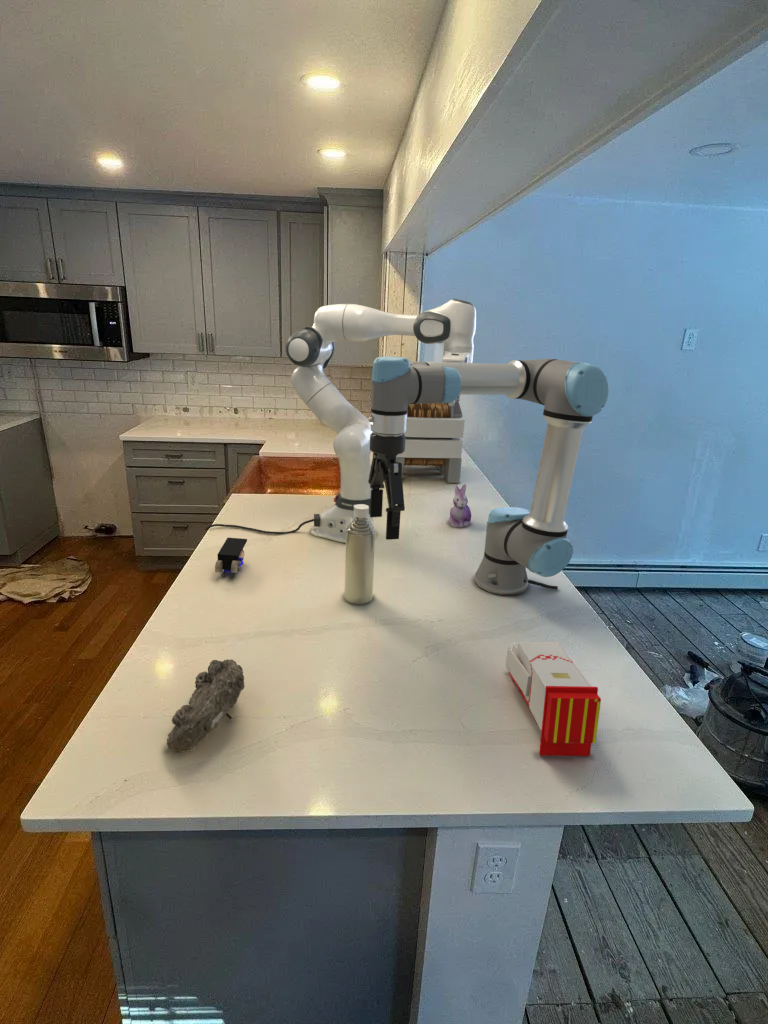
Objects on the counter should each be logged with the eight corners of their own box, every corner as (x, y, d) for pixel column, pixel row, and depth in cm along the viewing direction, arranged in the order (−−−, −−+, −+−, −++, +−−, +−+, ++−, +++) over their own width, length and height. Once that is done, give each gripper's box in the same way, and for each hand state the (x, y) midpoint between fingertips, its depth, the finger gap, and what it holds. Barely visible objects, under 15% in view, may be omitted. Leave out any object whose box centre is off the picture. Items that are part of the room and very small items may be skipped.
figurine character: (238, 584, 162) (249, 557, 175) (236, 562, 158) (247, 536, 172) (215, 584, 161) (227, 556, 175) (212, 561, 158) (225, 535, 171)
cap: (355, 518, 145) (355, 509, 144) (352, 513, 148) (352, 504, 147) (369, 517, 146) (370, 508, 145) (366, 512, 149) (367, 503, 148)
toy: (554, 624, 127) (610, 694, 97) (548, 679, 130) (602, 763, 100) (500, 623, 126) (541, 693, 97) (496, 678, 129) (534, 763, 100)
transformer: (382, 463, 289) (386, 382, 275) (445, 464, 293) (451, 384, 279) (390, 482, 257) (394, 392, 243) (460, 483, 261) (468, 394, 247)
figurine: (457, 529, 205) (460, 490, 200) (441, 520, 214) (444, 482, 209) (478, 526, 210) (482, 487, 205) (462, 517, 218) (465, 480, 213)
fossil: (192, 660, 117) (244, 628, 112) (224, 691, 120) (276, 661, 115) (142, 746, 98) (202, 712, 93) (182, 779, 101) (242, 748, 96)
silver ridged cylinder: (347, 605, 151) (349, 513, 142) (342, 591, 158) (344, 503, 149) (375, 602, 153) (379, 512, 144) (369, 589, 160) (372, 502, 151)
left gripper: (453, 354, 180) (449, 398, 185) (441, 358, 161) (437, 407, 166) (473, 355, 178) (468, 399, 183) (463, 360, 160) (459, 409, 164)
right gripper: (357, 421, 129) (354, 509, 136) (387, 447, 107) (382, 550, 114) (388, 421, 131) (384, 507, 138) (424, 446, 109) (417, 548, 116)
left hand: (454, 403), depth 174 cm, fingers open, 8 cm apart
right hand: (383, 527), depth 126 cm, fingers open, 13 cm apart
